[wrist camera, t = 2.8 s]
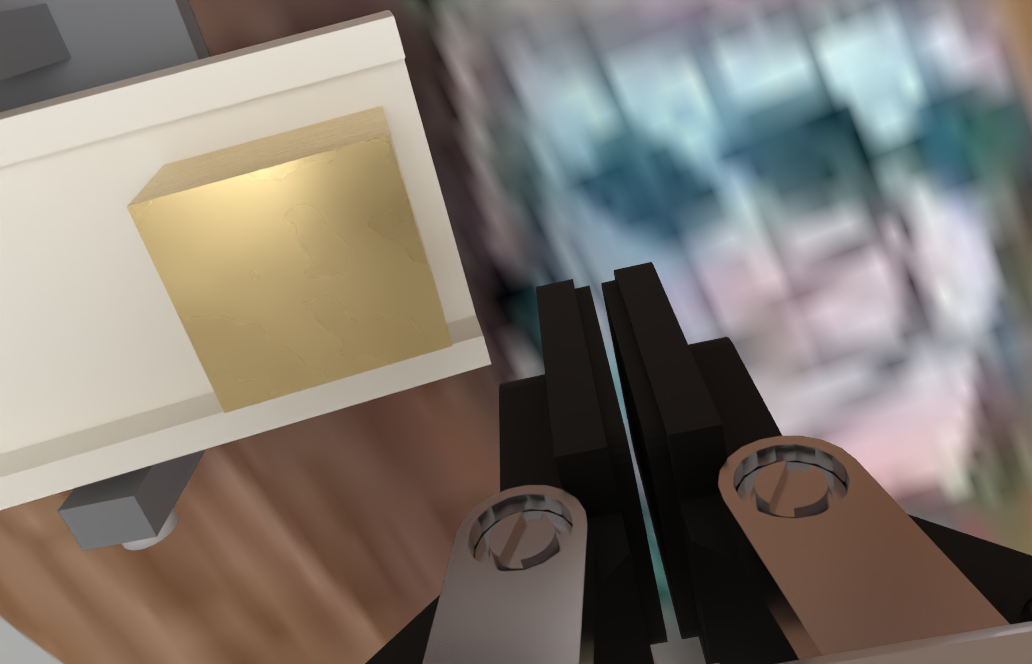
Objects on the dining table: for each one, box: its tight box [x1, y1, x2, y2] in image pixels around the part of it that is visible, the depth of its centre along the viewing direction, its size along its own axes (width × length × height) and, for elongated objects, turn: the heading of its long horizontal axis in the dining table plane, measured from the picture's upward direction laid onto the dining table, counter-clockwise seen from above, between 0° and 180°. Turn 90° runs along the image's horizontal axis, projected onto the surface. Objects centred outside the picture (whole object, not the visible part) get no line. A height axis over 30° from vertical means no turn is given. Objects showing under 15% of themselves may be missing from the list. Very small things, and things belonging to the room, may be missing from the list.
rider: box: [127, 106, 452, 413], centre depth 21 cm, size 6×6×4 cm
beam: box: [0, 10, 491, 510], centre depth 24 cm, size 24×10×6 cm, turn 102°
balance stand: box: [0, 0, 210, 551], centre depth 25 cm, size 10×17×8 cm, turn 13°
